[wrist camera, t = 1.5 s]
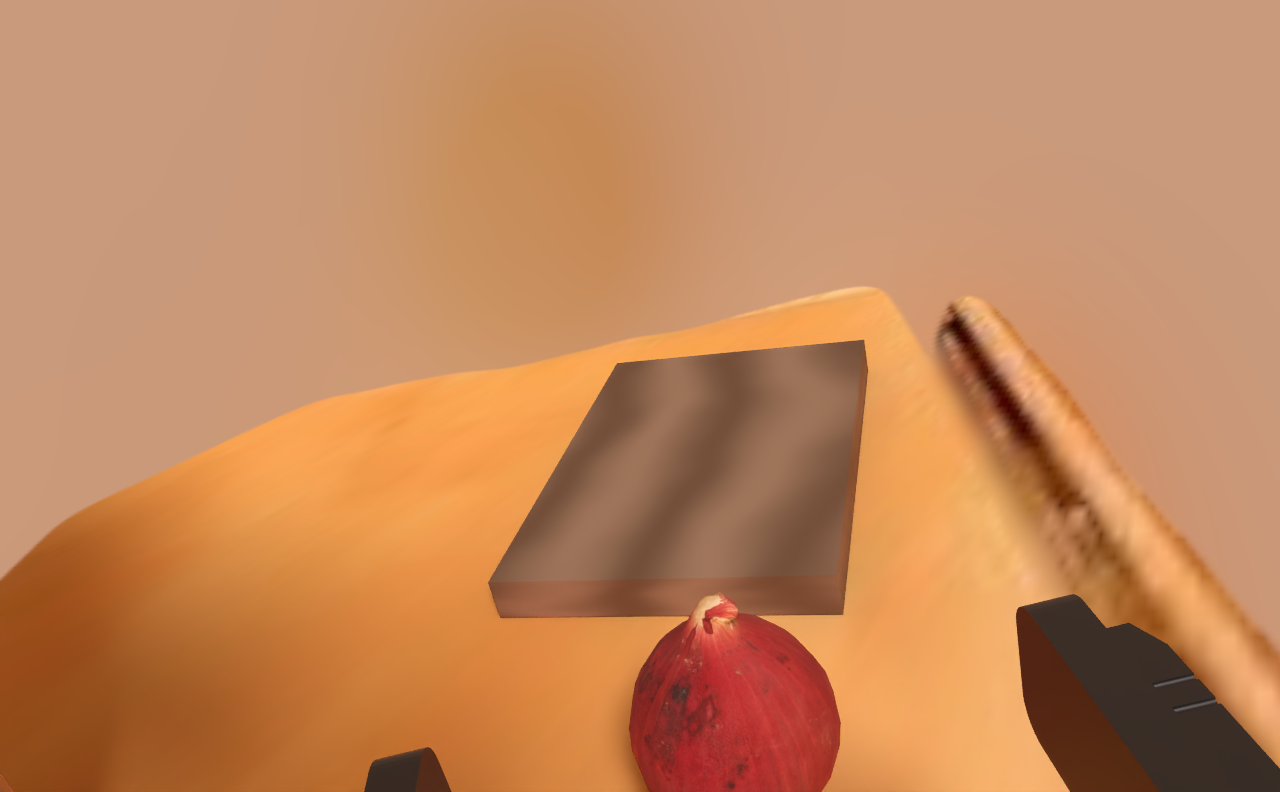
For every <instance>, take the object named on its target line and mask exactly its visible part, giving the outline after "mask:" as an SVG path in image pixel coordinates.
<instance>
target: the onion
mask: <svg viewBox="0 0 1280 792" xmlns="http://www.w3.org/2000/svg"><path fill="white" fill-rule="evenodd" d="M840 725H841V722H840V718H839V714H838V709H837V705H836V701H835V696H834V692H833V689H832V687H831V684H830V682H829V679H828V677H827V674H826V672H825V670H824V669H823V668H822V666H821V665H820V664H819V663H818V661H817V660H816V659H815V658H814V657H813V655H812V654H811V653H810V652H809V651H808V650H807V649H806V648H805V647H804V646H803V645H802V644H801V643H800V642H799V641H798V640H797V639H796V638H795V637H794V636H793V635H791V634H790V633H789V632H788V631H786V630H785V629H783V628H781V627H779V626H777V625H775V624H773V623H771V622H768V621H766V620H764V619H762V618H760V617H757V616H755V615H751V614H746V613H738V609H737V606H736V603H735V602H733V601H732V600H730V599H729V598H728V597H726V596H724V595H723V594H721V593H720V592H719V593H716V594H713V595H709V596H702V597H701V599H700V600H699V602H698V604H697V606H696V608H695V609H694V610H693V612H692V613H691V615H690V617H689V619H688V620H687V621H685V622H682V623H681V624H680V625H678V626H677V627H676V628H674V629H673V630H671V631H670V632H669V633H667V634H666V635H665V636H664V637H663V638H662V639H661V640H660V641H659V642H658V644H657V645H656V647H655V648H654V650H653V651H652V653H651V654H650V656H649V658H648V659H647V661H646V662H645V664H644V665H643V667H642V668H641V670H640V673H639V675H638V678H637V680H636V683H635V688H634V694H633V700H632V709H631V717H630V725H629V731H630V739H631V746H632V751H633V754H634V756H635V759H636V761H637V763H638V766H639V768H640V771H641V773H642V775H643V778H644V780H645V782H646V784H647V786H648V788H649V790H650V792H822V790H823V789H824V787H825V785H826V784H827V782H828V781H829V779H830V778H831V774H832V771H833V767H834V764H835V760H836V757H837V753H838V749H839V746H840Z"/></svg>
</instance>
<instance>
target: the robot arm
mask: <svg viewBox="0 0 1280 792" xmlns="http://www.w3.org/2000/svg"><path fill="white" fill-rule="evenodd" d="M1016 624H1017V634H1018V645H1019V656H1020V667H1021V678H1022V689H1023V697H1024V702H1025V706H1026V710H1027V714H1028V717H1029V720H1030V723H1031V725H1032V728H1033V730H1034V732H1035V734H1036V736H1037V738H1038V740H1039V742H1040V744H1041V746H1042V747H1043V749H1044V751H1045V752H1046V754H1047V755H1048V757H1049V759H1050V760H1051V762H1052V763H1053V765H1054V767H1055V768H1056V770H1057V771H1058V773H1059V775H1060V776H1061V778H1062V779H1063V781H1064V783H1065V784H1066V786H1067V787H1068V789H1069V791H1070V792H1280V768H1279V767H1278V766H1277V765H1276V764H1275V763H1274V762H1273V761H1272V760H1271V759H1270V757H1269V756H1268V755H1267V754H1266V753H1265V752H1264V751H1263V750H1262V749H1261V747H1260V746H1259V745H1258V744H1257V743H1256V742H1255V741H1254V740H1253V739H1252V737H1251V736H1250V735H1249V734H1248V733H1247V732H1246V731H1245V730H1244V729H1243V727H1242V726H1241V725H1240V724H1239V723H1238V722H1237V721H1236V720H1235V719H1234V717H1233V716H1232V715H1231V714H1230V713H1229V712H1228V711H1227V710H1226V709H1225V708H1224V706H1223V705H1222V704H1218V703H1217V702H1216V699H1215V696H1214V695H1213V694H1212V693H1211V692H1210V691H1209V690H1208V689H1207V688H1206V686H1205V685H1204V684H1203V683H1202V682H1201V681H1200V680H1199V679H1197V680H1196V679H1195V677H1194V673H1193V672H1192V671H1191V670H1190V669H1189V668H1188V667H1187V665H1186V664H1185V663H1184V662H1183V661H1182V660H1181V659H1180V658H1179V657H1178V655H1177V654H1176V653H1175V652H1174V651H1173V650H1172V649H1171V648H1170V647H1169V645H1168V644H1166V643H1164V642H1162V641H1161V640H1159V639H1157V638H1155V637H1153V636H1152V635H1150V634H1148V633H1146V632H1144V631H1143V630H1141V629H1139V628H1137V627H1136V626H1134V625H1132V624H1130V623H1126V624H1122V625H1118V626H1114V627H1110V628H1106V627H1105V626H1104V625H1103V624H1102V623H1101V621H1100V620H1099V619H1098V618H1097V617H1096V615H1095V614H1094V613H1093V612H1092V611H1091V609H1090V608H1089V607H1088V606H1087V605H1086V603H1085V602H1084V601H1083V600H1082V599H1081V598H1080V597H1079V596H1077V595H1075V594H1072V595H1068V596H1063V597H1059V598H1055V599H1051V600H1047V601H1043V602H1039V603H1034V604H1030V605H1026V606H1022V607H1019V608H1018V609H1017V613H1016ZM0 792H13V790H12V789H11V787H10V786H9V784H8V783H7V781H6V780H5V779H4V777H3V776H2V774H1V773H0ZM364 792H451V790H450V787H449V785H448V783H447V780H446V778H445V776H444V773H443V771H442V768H441V766H440V764H439V761H438V759H437V757H436V755H435V753H434V752H433V750H432V749H431V748H428V747H427V748H423V749H418V750H414V751H410V752H406V753H402V754H398V755H393V756H389V757H385V758H381V759H377V760H375V761H374V762H373V763H372V764H371V766H370V770H369V773H368V778H367V782H366V786H365V791H364Z"/></svg>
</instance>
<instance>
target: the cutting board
mask: <svg viewBox="0 0 1280 792" xmlns="http://www.w3.org/2000/svg"><path fill="white" fill-rule="evenodd" d="M867 374H868V367H867V359H866V351H865V344H864V340H858V341H847V342H837V343H826V344H816V345H805V346H795V347H784V348H773V349H763V350H752V351H742V352H731V353H721V354H710V355H700V356H689V357H678V358H668V359H657V360H647V361H636V362H626V363H617V365H616V366H615V368H614V370H613V371H612V373H611V375H610V376H609V378H608V380H607V382H606V383H605V385H604V387H603V388H602V390H601V392H600V393H599V395H598V397H597V399H596V400H595V402H594V404H593V405H592V407H591V409H590V410H589V412H588V414H587V415H586V417H585V419H584V421H583V422H582V424H581V426H580V427H579V429H578V431H577V432H576V434H575V436H574V438H573V439H572V441H571V443H570V444H569V446H568V448H567V449H566V451H565V453H564V455H563V456H562V458H561V460H560V461H559V463H558V465H557V466H556V468H555V470H554V472H553V473H552V475H551V477H550V478H549V480H548V482H547V483H546V485H545V487H544V489H543V490H542V492H541V494H540V495H539V497H538V499H537V500H536V502H535V504H534V506H533V507H532V509H531V511H530V512H529V514H528V516H527V517H526V519H525V521H524V522H523V524H522V526H521V528H520V529H519V531H518V533H517V534H516V536H515V538H514V539H513V541H512V543H511V545H510V546H509V548H508V550H507V551H506V553H505V555H504V556H503V558H502V560H501V562H500V563H499V565H498V567H497V568H496V570H495V572H494V573H493V575H492V577H491V579H490V580H489V582H488V584H489V586H490V589H491V592H492V595H493V598H494V601H495V603H496V606H497V609H498V612H499V615H500V617H589V616H690V615H691V613H692V612H693V610H694V609H695V608H696V606H697V604H698V602H699V600H700V599H701V597H702V596H709V595H713V594H716V593H719V592H720V593H721V594H723V595H724V596H726V597H728V598H729V599H730V600H732V601H733V602H735V603H736V606H737V609H738V613H746V614H751V615H811V614H843V610H844V600H845V590H846V580H847V571H848V561H849V551H850V541H851V531H852V522H853V512H854V502H855V492H856V482H857V472H858V463H859V453H860V443H861V433H862V423H863V414H864V404H865V394H866V384H867Z"/></svg>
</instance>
